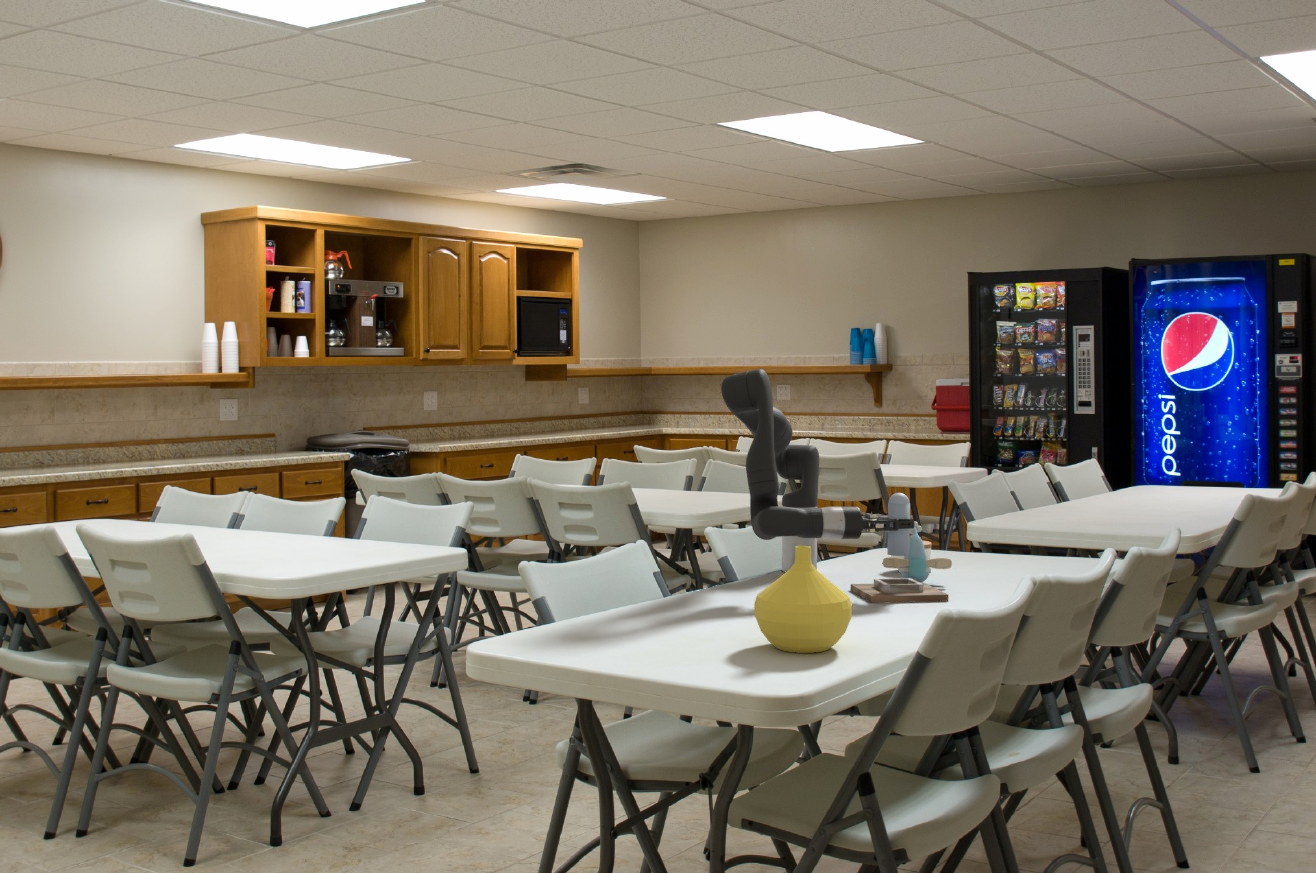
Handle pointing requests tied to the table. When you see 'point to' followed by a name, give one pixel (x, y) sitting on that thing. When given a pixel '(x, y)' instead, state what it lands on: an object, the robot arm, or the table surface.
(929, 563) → the teal toy airplane
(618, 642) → the table surface
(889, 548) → the grey rounded-top cylinder
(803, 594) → the vase
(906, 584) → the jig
